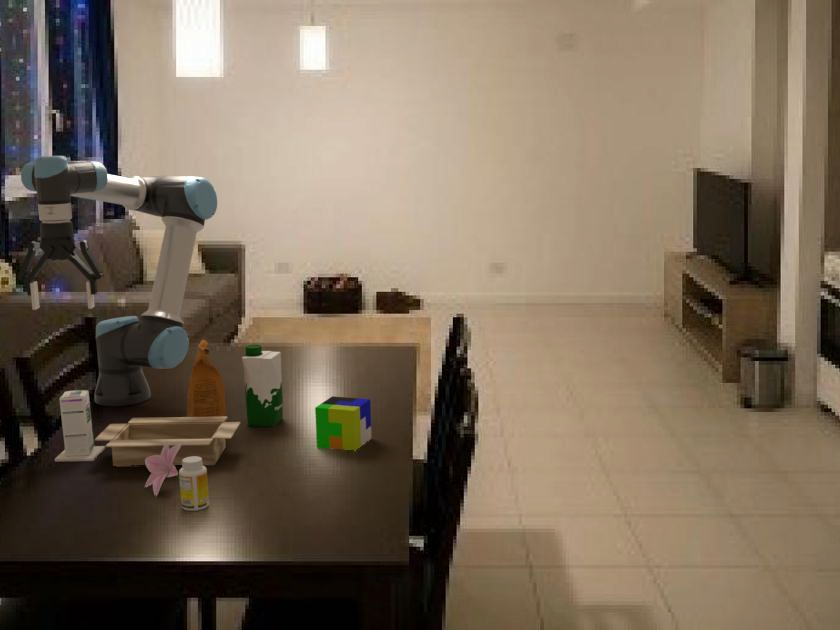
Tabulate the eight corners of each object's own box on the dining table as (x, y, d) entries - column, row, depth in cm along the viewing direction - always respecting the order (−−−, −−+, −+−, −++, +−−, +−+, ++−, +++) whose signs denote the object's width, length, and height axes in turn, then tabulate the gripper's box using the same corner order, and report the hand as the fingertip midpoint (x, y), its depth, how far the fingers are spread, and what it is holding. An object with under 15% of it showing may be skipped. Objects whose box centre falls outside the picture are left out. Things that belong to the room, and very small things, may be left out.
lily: (149, 481, 235) (128, 451, 230) (197, 458, 236) (178, 427, 231) (154, 515, 225) (132, 485, 220) (204, 491, 226) (184, 460, 221)
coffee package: (228, 419, 277) (223, 337, 272) (227, 433, 265) (222, 347, 260) (189, 422, 275) (183, 339, 271) (187, 436, 263) (181, 350, 259)
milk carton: (254, 416, 279) (250, 342, 275) (287, 417, 277) (284, 343, 273) (242, 426, 270) (238, 350, 266) (276, 428, 268) (272, 351, 264)
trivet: (68, 449, 255) (67, 446, 255) (105, 448, 255) (105, 446, 255) (54, 461, 247) (54, 459, 246) (93, 460, 246) (93, 458, 246)
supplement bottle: (209, 500, 220) (206, 453, 218) (209, 510, 215) (206, 462, 213) (181, 503, 219) (178, 455, 217) (180, 513, 214) (177, 464, 212)
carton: (118, 442, 259) (116, 418, 258) (245, 441, 259) (244, 416, 257) (90, 472, 238) (87, 446, 237) (228, 470, 238) (226, 443, 236)
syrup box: (90, 455, 248) (85, 395, 246) (64, 457, 248) (58, 397, 245) (94, 447, 254) (89, 389, 251) (69, 449, 253) (63, 390, 250)
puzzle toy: (371, 438, 258) (370, 399, 256) (355, 451, 249) (354, 410, 247) (333, 435, 262) (332, 396, 260) (316, 448, 252) (315, 407, 250)
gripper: (-3, 224, 251) (6, 312, 255) (102, 221, 250) (110, 310, 254) (10, 220, 258) (18, 306, 262) (112, 218, 258) (119, 304, 262)
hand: (63, 308), depth 258 cm, fingers open, 13 cm apart
